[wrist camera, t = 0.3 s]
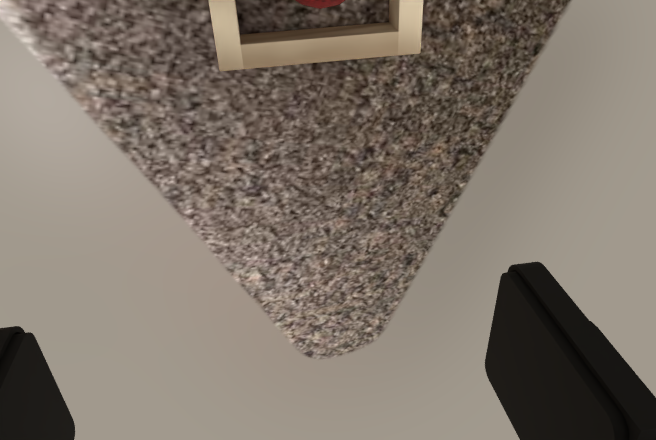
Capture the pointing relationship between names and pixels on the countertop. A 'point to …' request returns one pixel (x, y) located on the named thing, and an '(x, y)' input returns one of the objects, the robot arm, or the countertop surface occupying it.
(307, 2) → the onion
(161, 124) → the countertop surface
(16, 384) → the robot arm
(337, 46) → the frame
